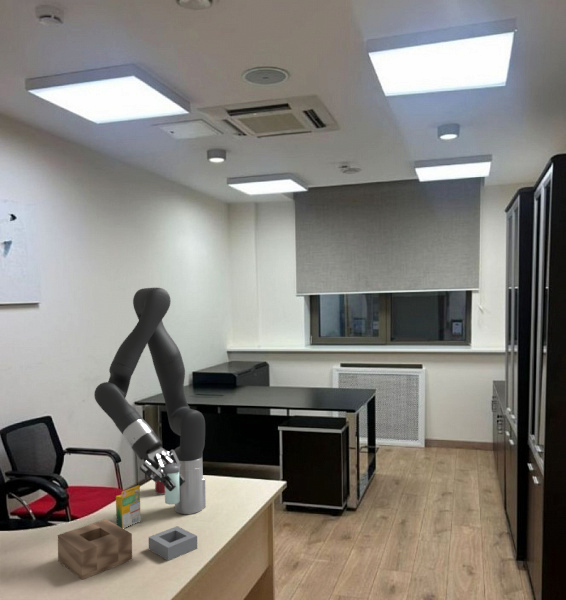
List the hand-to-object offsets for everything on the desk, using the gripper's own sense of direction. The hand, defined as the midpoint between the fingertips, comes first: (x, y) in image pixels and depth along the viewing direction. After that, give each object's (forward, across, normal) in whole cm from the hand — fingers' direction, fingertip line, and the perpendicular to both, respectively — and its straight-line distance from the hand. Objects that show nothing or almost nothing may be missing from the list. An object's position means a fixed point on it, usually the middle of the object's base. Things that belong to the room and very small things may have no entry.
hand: (177, 486), depth 150 cm
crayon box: (-5, +8, +30) cm, 31 cm away
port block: (0, -14, +25) cm, 28 cm away
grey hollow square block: (+11, 0, +14) cm, 18 cm away
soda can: (-9, +36, +35) cm, 51 cm away
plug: (+2, 0, +5) cm, 5 cm away
